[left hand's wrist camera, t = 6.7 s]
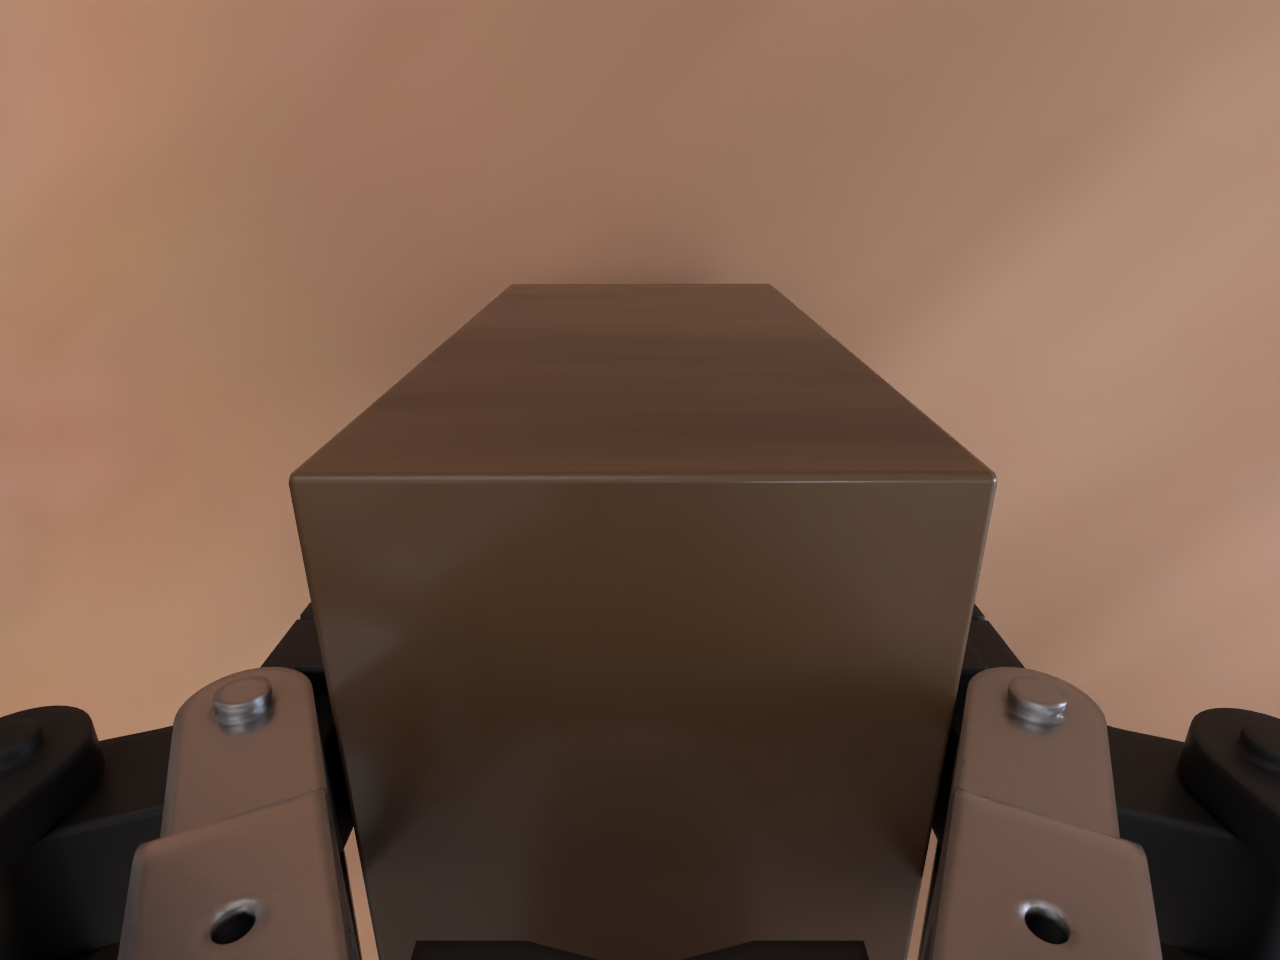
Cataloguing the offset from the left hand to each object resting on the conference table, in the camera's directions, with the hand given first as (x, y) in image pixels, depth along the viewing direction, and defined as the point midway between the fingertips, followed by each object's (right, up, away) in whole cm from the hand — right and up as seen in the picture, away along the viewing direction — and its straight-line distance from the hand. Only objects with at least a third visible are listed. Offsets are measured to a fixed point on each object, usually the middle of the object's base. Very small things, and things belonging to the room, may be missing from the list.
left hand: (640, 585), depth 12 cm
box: (0, -5, +10) cm, 11 cm away
